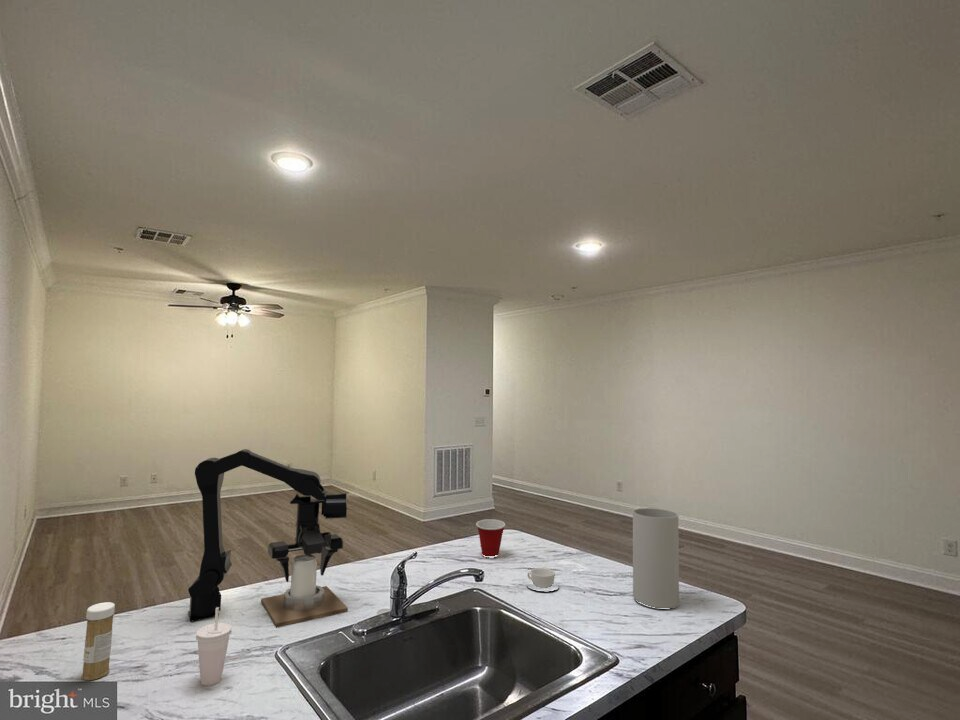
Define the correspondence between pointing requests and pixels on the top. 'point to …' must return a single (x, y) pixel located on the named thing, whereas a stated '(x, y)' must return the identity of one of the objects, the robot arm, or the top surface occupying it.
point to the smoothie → (212, 650)
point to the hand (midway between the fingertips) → (304, 578)
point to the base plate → (289, 617)
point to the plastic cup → (490, 536)
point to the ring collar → (303, 600)
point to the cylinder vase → (656, 557)
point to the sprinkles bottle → (98, 640)
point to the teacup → (542, 577)
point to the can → (303, 576)
